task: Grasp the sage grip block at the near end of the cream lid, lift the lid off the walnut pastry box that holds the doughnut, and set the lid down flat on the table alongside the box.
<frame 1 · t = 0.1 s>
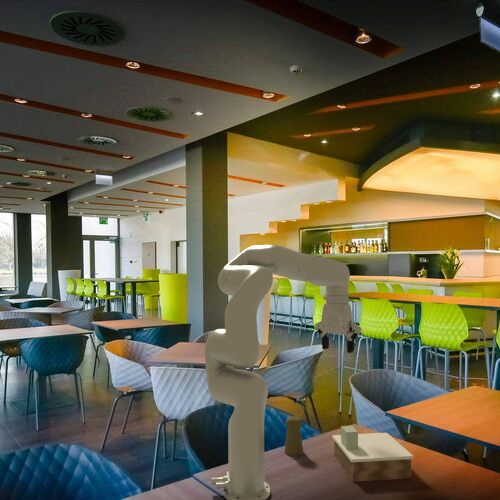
hand: (337, 350, 152), 31 cm above the table, tool pointing down, fingers open, 9 cm apart
tub: (370, 466, 134), on the table
doughnut: (370, 467, 134), resting in tub
cork: (294, 452, 144), on the table
lid: (370, 447, 134), point 5 cm above the table, touching tub
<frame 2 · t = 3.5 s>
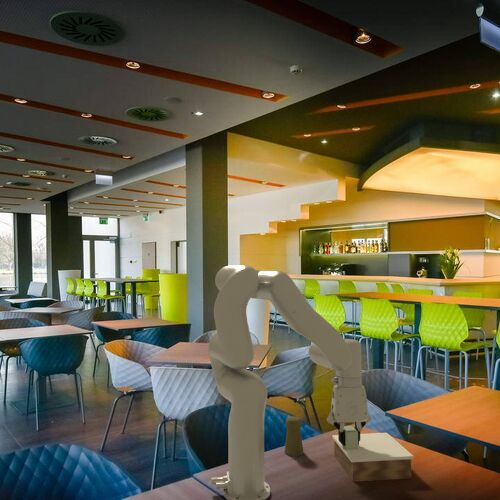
hand: (349, 443, 133), 7 cm above the table, tool pointing down, fingers closed on lid, 3 cm apart
lid: (370, 447, 134), point 6 cm above the table, touching gripper, tub
everything else where it was.
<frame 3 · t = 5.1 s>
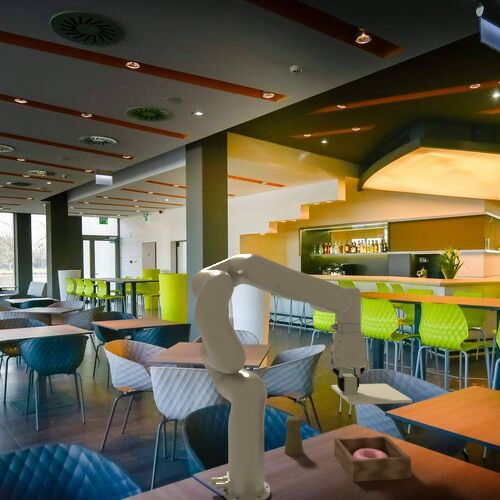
hand: (348, 389, 134), 23 cm above the table, tool pointing down, fingers closed on lid, 3 cm apart
lid: (369, 394, 134), point 21 cm above the table, touching gripper
everything else where it was.
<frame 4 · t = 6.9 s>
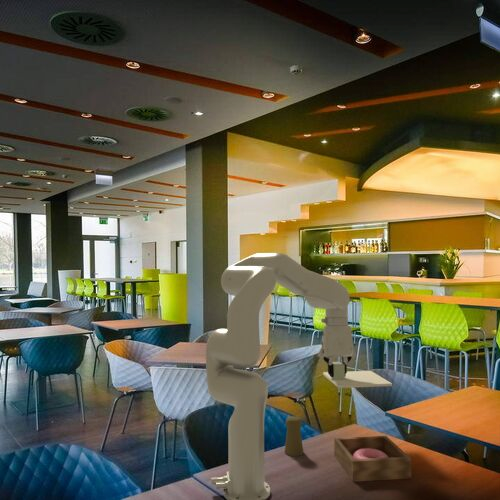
hand: (337, 375, 153), 22 cm above the table, tool pointing down, fingers closed on lid, 3 cm apart
lid: (355, 379, 153), point 21 cm above the table, touching gripper
everything else where it was.
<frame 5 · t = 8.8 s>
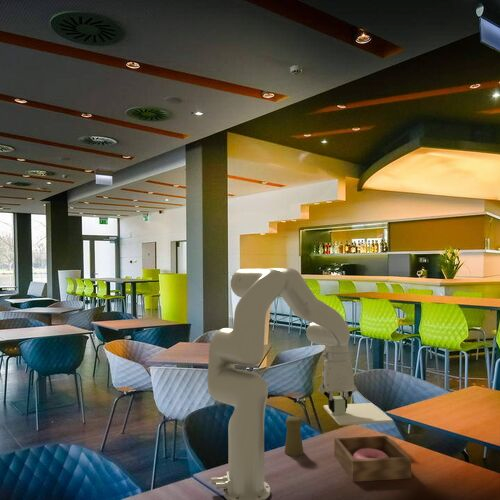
hand: (337, 410, 152), 11 cm above the table, tool pointing down, fingers closed on lid, 3 cm apart
lid: (356, 414, 153), point 9 cm above the table, touching gripper
everything else where it was.
when the fingers open (3 cm above the table, at t = 10.6 s): lid drops 2 cm, on the table.
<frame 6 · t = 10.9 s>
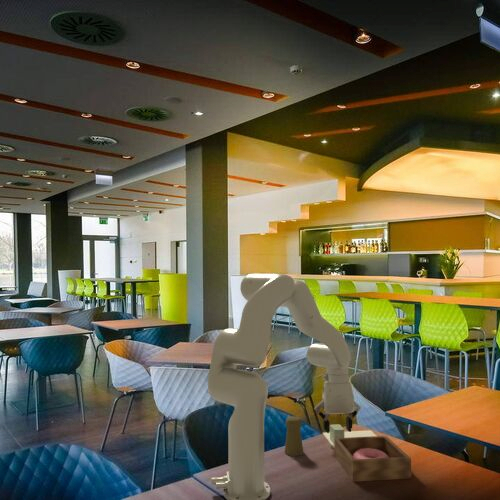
hand: (337, 430, 152), 4 cm above the table, tool pointing down, fingers open, 7 cm apart
lid: (355, 443, 153), on the table
everything else where it was.
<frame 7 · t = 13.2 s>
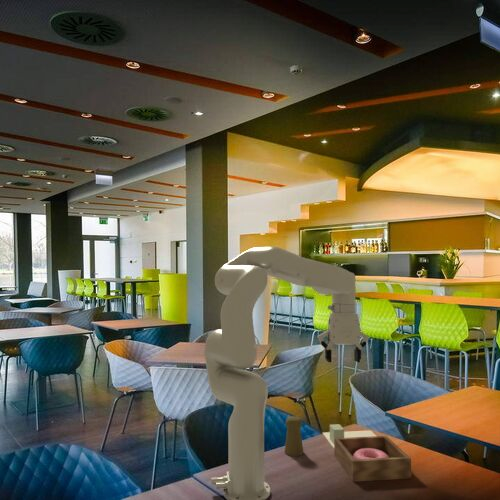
hand: (343, 361, 147), 28 cm above the table, tool pointing down, fingers open, 9 cm apart
nothing on the table moved.
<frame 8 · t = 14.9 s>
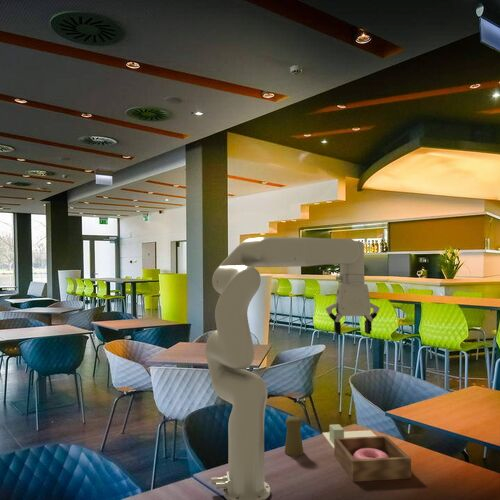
hand: (352, 334, 142), 38 cm above the table, tool pointing down, fingers open, 9 cm apart
nothing on the table moved.
at the end: lid inside the target area (0.4 cm from its centre), on the table; lid tilted 0°; the gripper is holding nothing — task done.
